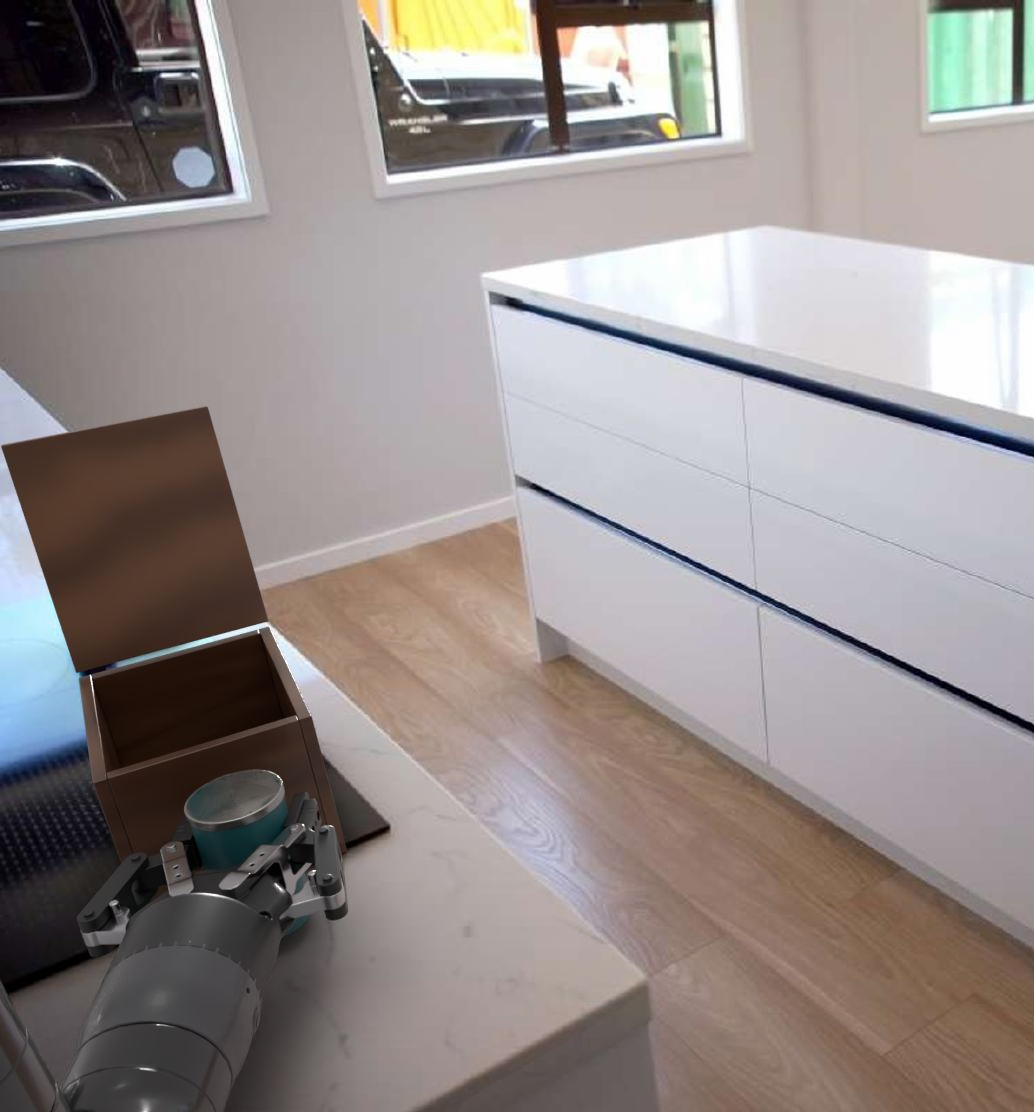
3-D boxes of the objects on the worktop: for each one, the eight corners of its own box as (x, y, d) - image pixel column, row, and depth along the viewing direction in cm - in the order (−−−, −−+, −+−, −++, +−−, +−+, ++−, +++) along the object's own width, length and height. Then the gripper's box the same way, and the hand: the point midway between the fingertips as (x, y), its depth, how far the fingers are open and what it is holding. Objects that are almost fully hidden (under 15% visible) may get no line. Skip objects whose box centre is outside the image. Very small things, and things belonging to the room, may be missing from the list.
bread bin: (347, 852, 86) (311, 715, 81) (143, 925, 80) (92, 782, 75) (302, 749, 98) (269, 625, 94) (122, 806, 92) (78, 677, 88)
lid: (207, 406, 89) (206, 405, 89) (0, 445, 83) (1, 444, 83) (268, 621, 93) (267, 619, 94) (76, 673, 87) (76, 670, 88)
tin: (250, 959, 75) (212, 834, 71) (205, 923, 78) (166, 802, 74) (332, 909, 78) (300, 788, 75) (286, 877, 82) (253, 759, 78)
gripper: (312, 926, 62) (363, 743, 78) (-2, 975, 60) (114, 777, 75) (344, 1040, 65) (387, 842, 81) (46, 1091, 63) (148, 878, 79)
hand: (255, 812), depth 78 cm, fingers closed on tin, 5 cm apart
